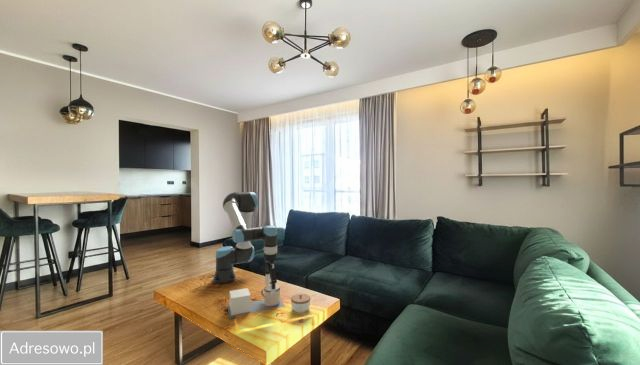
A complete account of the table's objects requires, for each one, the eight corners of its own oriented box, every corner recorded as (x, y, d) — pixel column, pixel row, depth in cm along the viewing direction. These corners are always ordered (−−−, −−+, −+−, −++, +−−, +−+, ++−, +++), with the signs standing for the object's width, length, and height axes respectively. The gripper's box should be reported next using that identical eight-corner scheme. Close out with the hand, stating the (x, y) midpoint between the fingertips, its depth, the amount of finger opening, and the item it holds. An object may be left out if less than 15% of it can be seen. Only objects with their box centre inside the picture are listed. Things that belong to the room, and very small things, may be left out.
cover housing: (229, 306, 148) (229, 290, 148) (247, 303, 152) (247, 288, 152) (231, 315, 139) (231, 298, 139) (250, 311, 143) (250, 295, 143)
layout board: (227, 308, 149) (227, 305, 149) (279, 298, 161) (279, 296, 161) (229, 319, 137) (229, 316, 137) (285, 308, 149) (285, 305, 149)
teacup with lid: (282, 300, 155) (282, 281, 155) (275, 307, 147) (275, 287, 146) (265, 297, 159) (265, 278, 159) (256, 304, 151) (256, 283, 151)
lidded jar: (287, 311, 146) (287, 294, 146) (301, 304, 153) (301, 288, 153) (299, 318, 138) (299, 300, 138) (314, 311, 146) (314, 294, 145)
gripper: (259, 248, 162) (259, 282, 162) (268, 260, 139) (268, 299, 139) (271, 247, 165) (271, 280, 165) (282, 258, 142) (282, 297, 142)
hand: (270, 289), depth 152 cm, fingers open, 13 cm apart
